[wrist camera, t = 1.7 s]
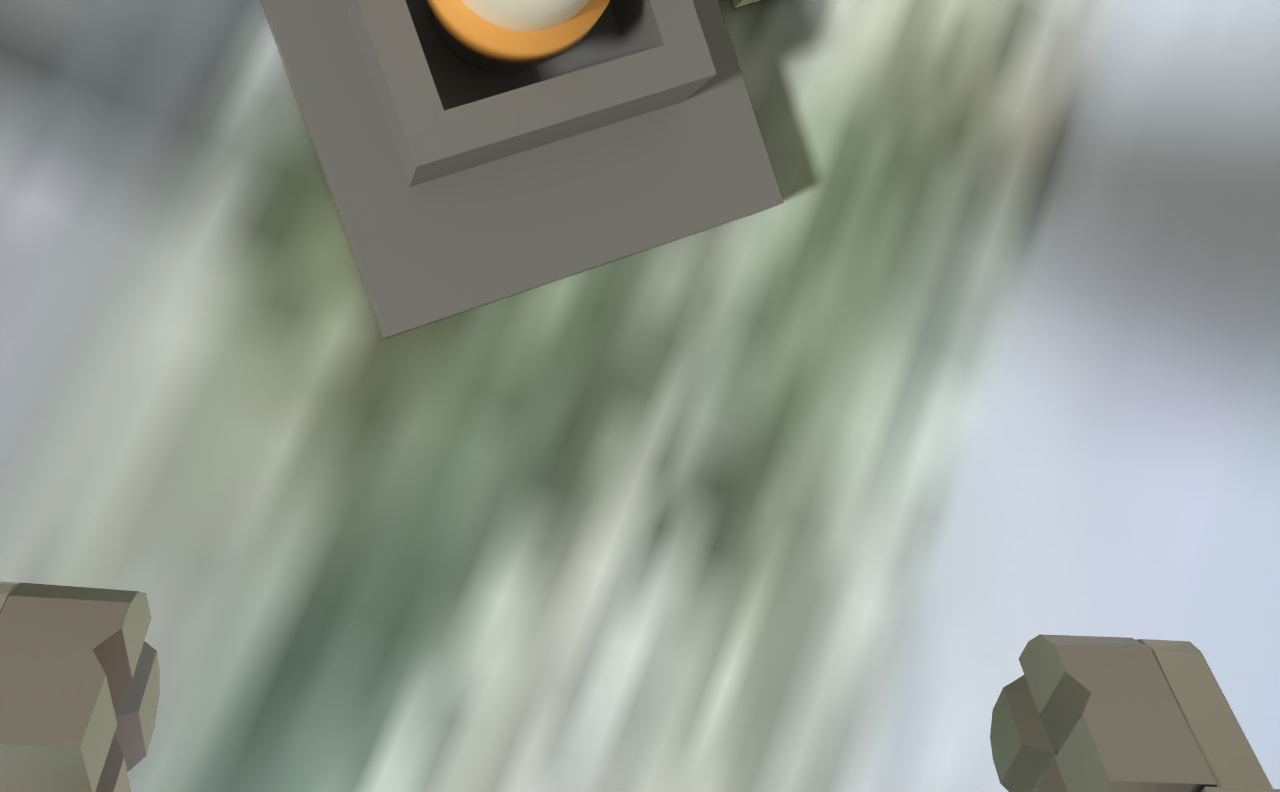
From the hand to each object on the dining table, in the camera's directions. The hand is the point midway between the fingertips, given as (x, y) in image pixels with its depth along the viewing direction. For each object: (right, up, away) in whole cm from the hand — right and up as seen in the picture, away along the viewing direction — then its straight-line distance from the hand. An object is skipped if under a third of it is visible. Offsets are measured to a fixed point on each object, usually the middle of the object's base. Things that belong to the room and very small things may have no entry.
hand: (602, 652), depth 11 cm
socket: (-4, +12, +21) cm, 24 cm away
